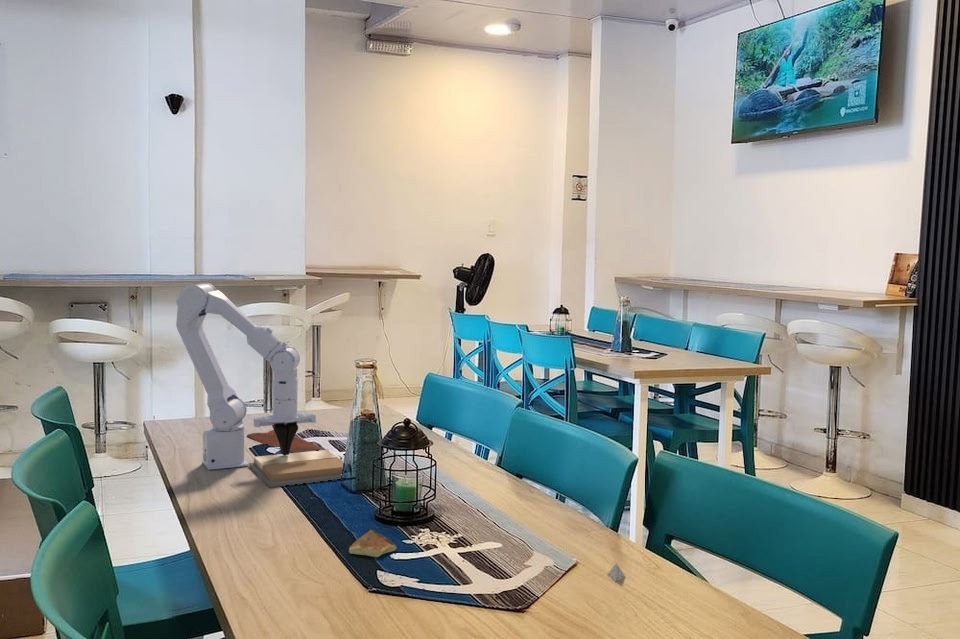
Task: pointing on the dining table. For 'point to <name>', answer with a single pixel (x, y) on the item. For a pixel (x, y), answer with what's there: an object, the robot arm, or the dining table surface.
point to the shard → (372, 545)
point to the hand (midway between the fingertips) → (285, 454)
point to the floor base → (293, 481)
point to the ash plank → (292, 457)
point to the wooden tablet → (272, 439)
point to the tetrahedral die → (616, 573)
